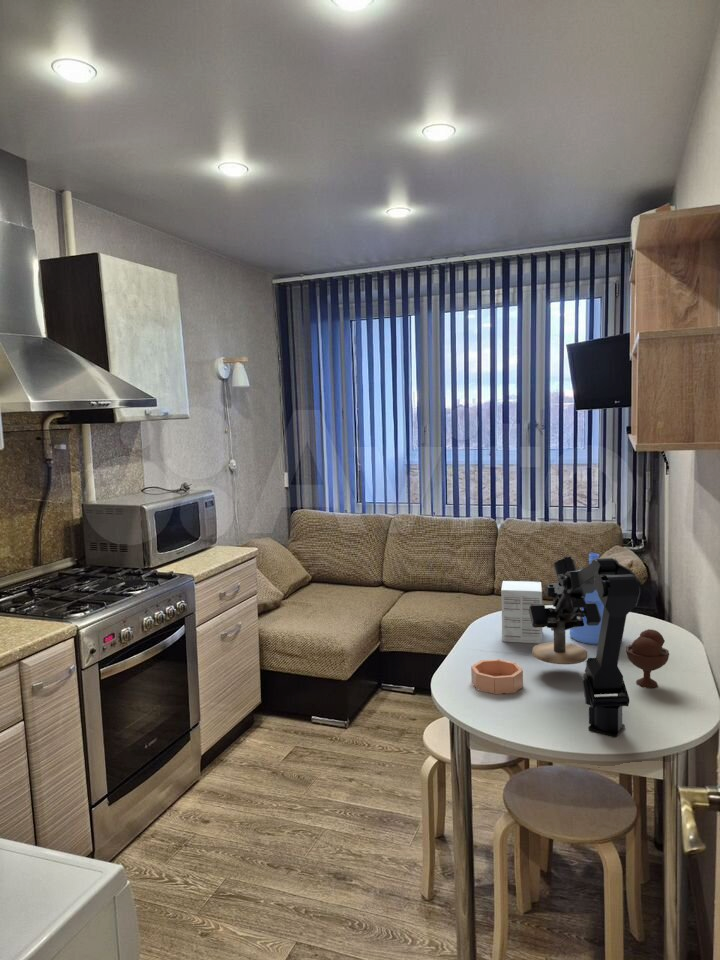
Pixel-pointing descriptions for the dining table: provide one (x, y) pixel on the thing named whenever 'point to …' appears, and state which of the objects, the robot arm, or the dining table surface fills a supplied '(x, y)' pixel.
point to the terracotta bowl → (497, 676)
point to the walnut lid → (559, 649)
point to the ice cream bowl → (648, 655)
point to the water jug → (586, 632)
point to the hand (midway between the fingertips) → (557, 628)
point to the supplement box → (520, 611)
